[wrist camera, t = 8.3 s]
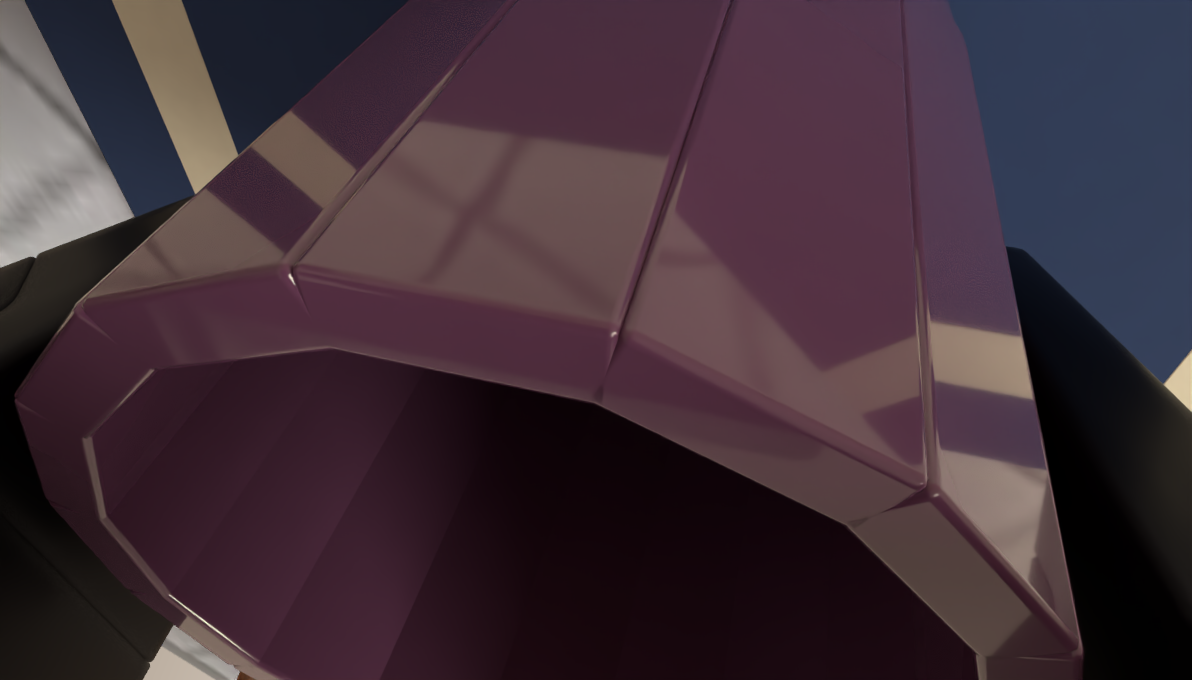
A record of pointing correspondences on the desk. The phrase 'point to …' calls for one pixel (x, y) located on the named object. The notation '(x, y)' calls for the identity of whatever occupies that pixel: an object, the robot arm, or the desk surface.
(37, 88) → the desk surface
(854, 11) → the tumbler
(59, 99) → the desk surface
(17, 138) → the desk surface
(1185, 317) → the cloth
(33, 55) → the desk surface
